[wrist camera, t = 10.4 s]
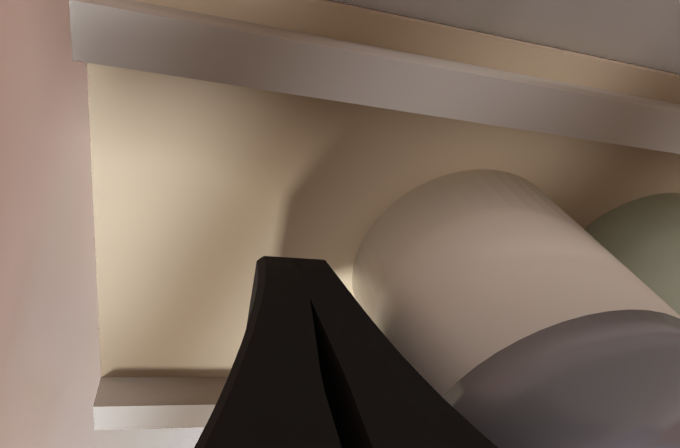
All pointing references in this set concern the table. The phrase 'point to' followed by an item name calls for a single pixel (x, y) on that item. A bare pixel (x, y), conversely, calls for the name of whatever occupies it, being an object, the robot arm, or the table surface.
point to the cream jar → (521, 316)
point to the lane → (312, 159)
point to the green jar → (646, 242)
